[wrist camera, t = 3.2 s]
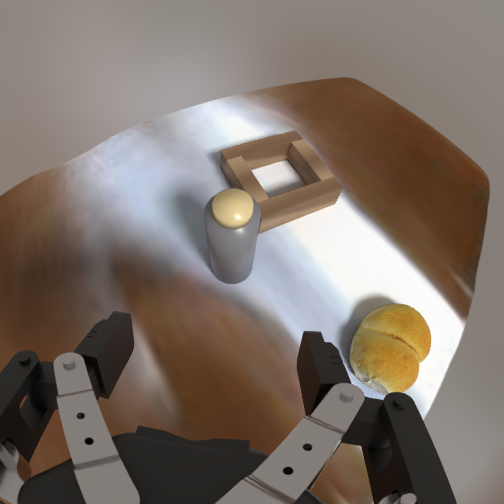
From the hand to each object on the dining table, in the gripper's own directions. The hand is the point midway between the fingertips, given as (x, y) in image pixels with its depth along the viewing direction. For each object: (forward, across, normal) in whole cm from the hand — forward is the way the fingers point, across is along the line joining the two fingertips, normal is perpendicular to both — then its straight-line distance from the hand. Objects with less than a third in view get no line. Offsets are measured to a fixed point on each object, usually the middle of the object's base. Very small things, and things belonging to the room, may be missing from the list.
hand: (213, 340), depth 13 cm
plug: (+16, 0, +2) cm, 16 cm away
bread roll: (+11, -16, +8) cm, 21 cm away
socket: (+23, -4, -5) cm, 24 cm away
